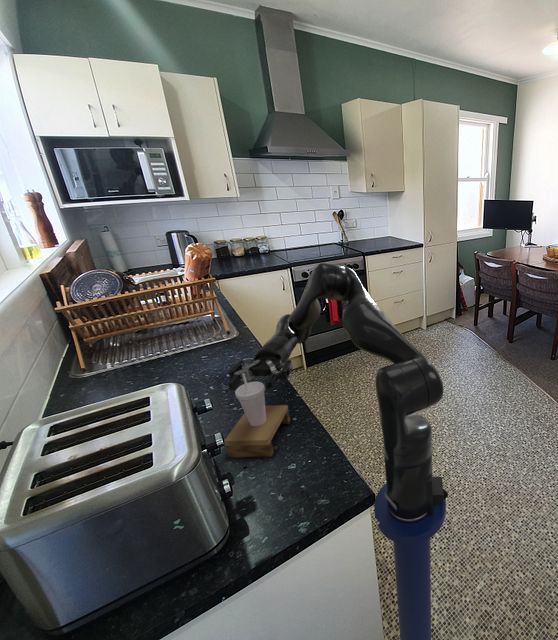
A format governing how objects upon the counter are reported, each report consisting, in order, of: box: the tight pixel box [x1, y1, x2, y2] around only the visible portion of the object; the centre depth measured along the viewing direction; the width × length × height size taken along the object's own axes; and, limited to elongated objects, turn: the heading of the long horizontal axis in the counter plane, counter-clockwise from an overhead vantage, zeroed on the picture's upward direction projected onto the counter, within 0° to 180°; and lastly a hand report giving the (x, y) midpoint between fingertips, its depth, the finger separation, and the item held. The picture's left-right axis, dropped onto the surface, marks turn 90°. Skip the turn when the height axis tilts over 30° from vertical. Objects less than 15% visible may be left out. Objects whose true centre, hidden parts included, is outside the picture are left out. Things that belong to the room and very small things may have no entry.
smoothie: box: [234, 373, 266, 427], centre depth 83 cm, size 6×6×14 cm
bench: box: [223, 404, 291, 458], centre depth 86 cm, size 10×13×5 cm
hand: (249, 386), depth 82 cm, fingers open, 8 cm apart
